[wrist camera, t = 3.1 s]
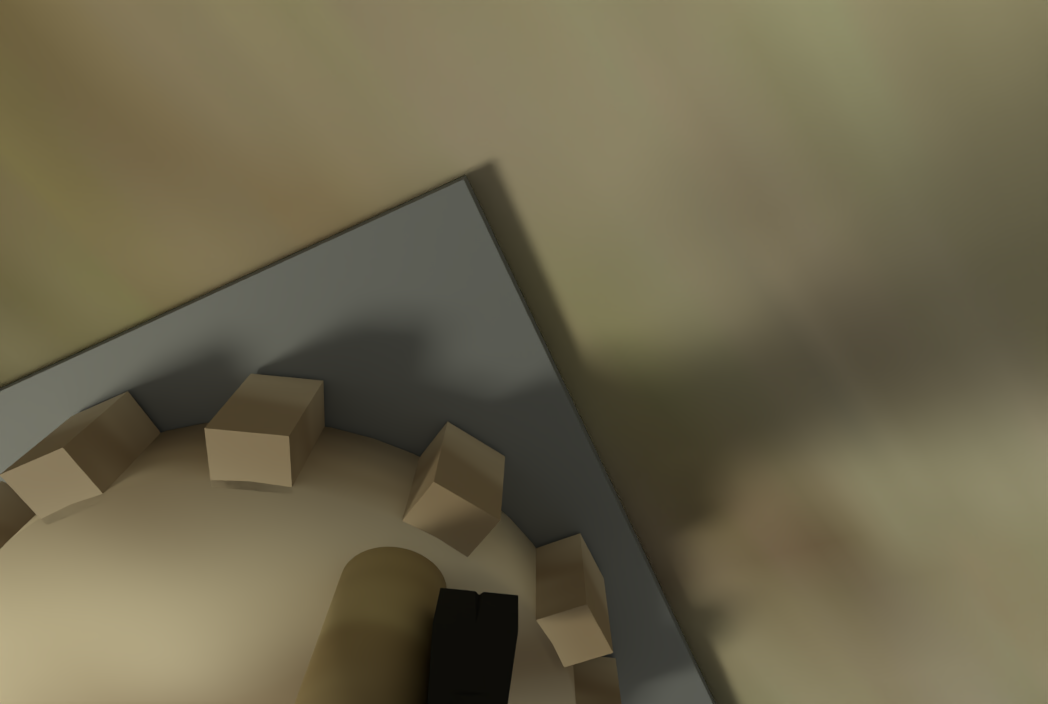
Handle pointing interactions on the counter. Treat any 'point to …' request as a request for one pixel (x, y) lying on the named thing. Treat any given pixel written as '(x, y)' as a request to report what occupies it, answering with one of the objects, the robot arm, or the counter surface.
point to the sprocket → (271, 563)
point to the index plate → (395, 389)
